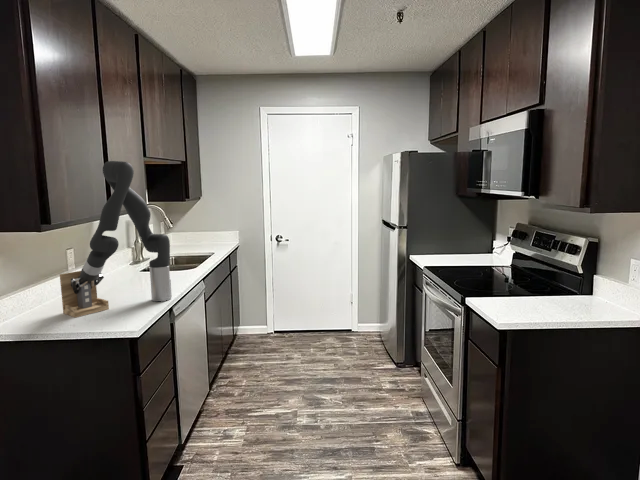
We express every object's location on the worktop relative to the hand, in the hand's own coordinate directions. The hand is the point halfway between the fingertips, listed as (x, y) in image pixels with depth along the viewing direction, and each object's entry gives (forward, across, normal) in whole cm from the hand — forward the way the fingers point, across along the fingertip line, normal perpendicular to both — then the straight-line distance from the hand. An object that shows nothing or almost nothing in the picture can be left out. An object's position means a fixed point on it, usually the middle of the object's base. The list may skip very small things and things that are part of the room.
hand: (81, 291), depth 193 cm
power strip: (+4, 0, +6) cm, 7 cm away
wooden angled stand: (+4, 0, +9) cm, 10 cm away
